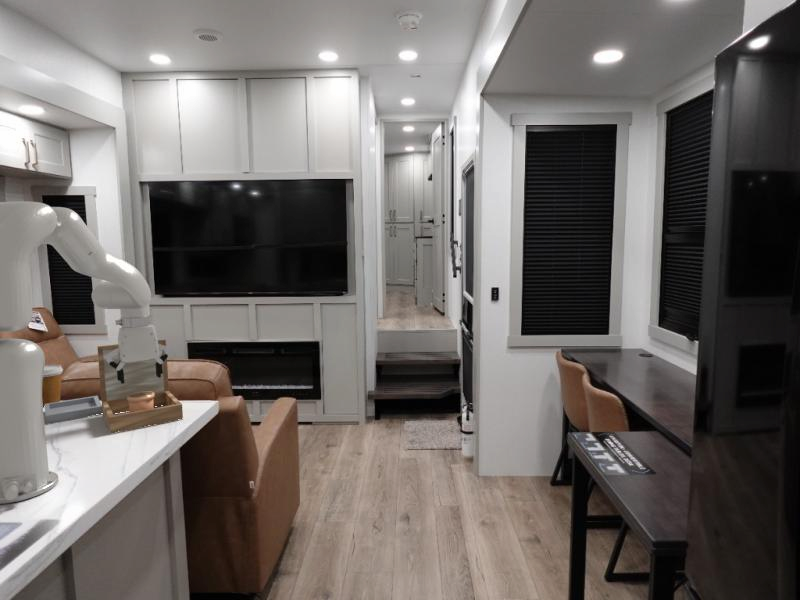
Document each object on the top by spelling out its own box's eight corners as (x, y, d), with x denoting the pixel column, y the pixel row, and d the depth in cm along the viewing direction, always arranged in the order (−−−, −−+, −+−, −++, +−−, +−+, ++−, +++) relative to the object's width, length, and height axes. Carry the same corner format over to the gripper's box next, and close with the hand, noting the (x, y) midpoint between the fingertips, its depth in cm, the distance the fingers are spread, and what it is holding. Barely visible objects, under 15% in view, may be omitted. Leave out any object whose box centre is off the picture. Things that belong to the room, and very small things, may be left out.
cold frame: (183, 419, 145) (178, 348, 143) (110, 433, 134) (104, 356, 132) (168, 403, 160) (164, 339, 158) (102, 415, 149) (97, 346, 147)
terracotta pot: (158, 418, 146) (156, 395, 146) (130, 423, 142) (128, 399, 141) (153, 412, 152) (151, 389, 151) (126, 417, 148) (125, 394, 147)
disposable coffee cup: (73, 400, 165) (70, 365, 163) (45, 409, 156) (42, 372, 154) (50, 398, 167) (47, 363, 166) (22, 407, 158) (19, 370, 157)
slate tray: (102, 414, 151) (102, 406, 150) (46, 424, 142) (45, 415, 142) (97, 403, 162) (97, 395, 162) (45, 411, 154) (44, 403, 153)
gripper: (103, 327, 136) (108, 388, 138) (171, 320, 146) (175, 377, 149) (100, 324, 142) (105, 382, 144) (165, 317, 152) (169, 371, 155)
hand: (140, 379), depth 146 cm, fingers open, 9 cm apart
